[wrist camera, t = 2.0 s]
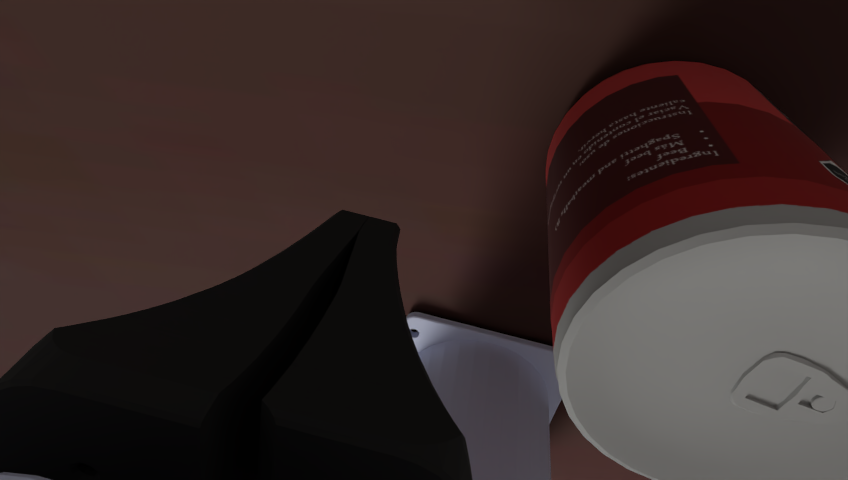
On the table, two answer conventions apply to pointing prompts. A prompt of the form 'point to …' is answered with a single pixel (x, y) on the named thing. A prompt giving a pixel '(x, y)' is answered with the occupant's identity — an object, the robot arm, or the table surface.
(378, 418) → the robot arm
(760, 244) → the canned food
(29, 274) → the table surface
